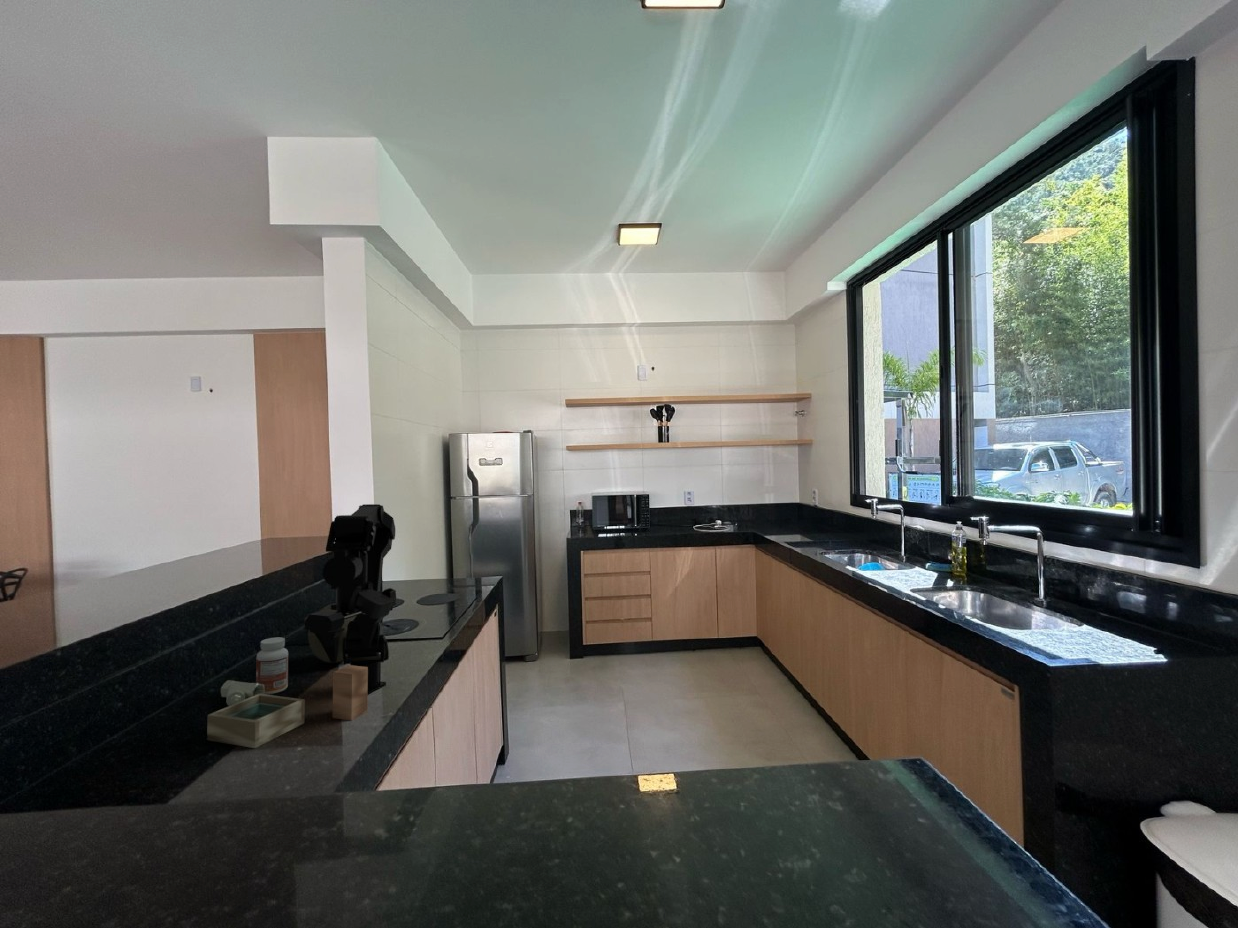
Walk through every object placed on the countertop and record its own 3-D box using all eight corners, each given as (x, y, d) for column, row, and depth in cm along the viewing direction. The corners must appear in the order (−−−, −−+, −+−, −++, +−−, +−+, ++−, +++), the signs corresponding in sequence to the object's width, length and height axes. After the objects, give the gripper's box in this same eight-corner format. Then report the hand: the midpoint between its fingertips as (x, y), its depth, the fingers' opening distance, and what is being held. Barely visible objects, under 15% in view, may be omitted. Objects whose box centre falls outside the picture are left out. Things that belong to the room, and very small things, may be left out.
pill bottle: (262, 685, 134) (263, 636, 135) (292, 684, 135) (292, 635, 136) (250, 695, 128) (251, 644, 128) (281, 694, 129) (282, 643, 129)
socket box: (259, 716, 118) (259, 693, 118) (304, 722, 115) (304, 699, 115) (207, 739, 107) (207, 714, 107) (255, 748, 104) (255, 722, 104)
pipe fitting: (238, 712, 121) (265, 697, 128) (237, 693, 121) (264, 680, 127) (206, 708, 123) (235, 694, 129) (205, 689, 123) (234, 676, 129)
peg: (348, 708, 122) (349, 664, 122) (367, 711, 120) (367, 667, 120) (332, 717, 117) (333, 671, 117) (351, 720, 116) (352, 674, 116)
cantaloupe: (293, 667, 147) (294, 606, 147) (339, 651, 160) (340, 596, 160) (335, 674, 142) (336, 612, 142) (380, 658, 155) (380, 600, 155)
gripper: (352, 588, 108) (350, 674, 108) (414, 572, 126) (413, 645, 126) (302, 585, 111) (301, 668, 111) (370, 569, 129) (369, 641, 129)
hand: (350, 655), depth 119 cm, fingers open, 9 cm apart
